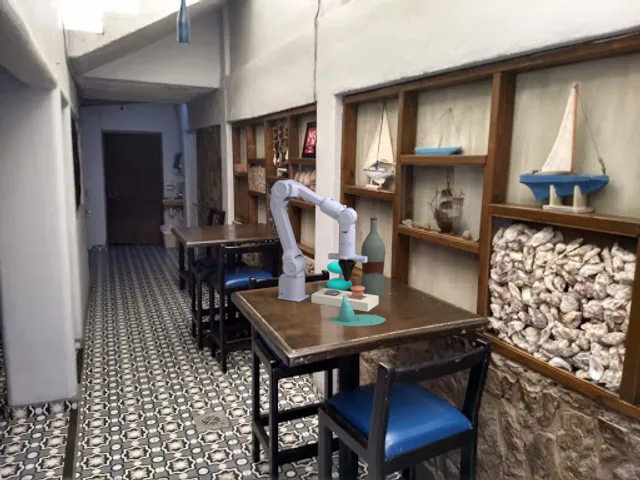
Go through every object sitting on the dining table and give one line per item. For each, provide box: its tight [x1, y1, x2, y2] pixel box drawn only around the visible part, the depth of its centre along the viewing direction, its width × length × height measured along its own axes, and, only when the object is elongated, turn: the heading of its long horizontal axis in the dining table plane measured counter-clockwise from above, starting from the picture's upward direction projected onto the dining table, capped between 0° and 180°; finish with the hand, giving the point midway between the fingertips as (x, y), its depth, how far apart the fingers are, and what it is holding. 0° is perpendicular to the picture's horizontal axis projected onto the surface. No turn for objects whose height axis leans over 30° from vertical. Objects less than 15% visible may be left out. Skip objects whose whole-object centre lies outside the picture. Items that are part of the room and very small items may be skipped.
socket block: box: [310, 287, 380, 313], centre depth 174 cm, size 22×10×3 cm, turn 62°
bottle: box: [360, 216, 386, 299], centre depth 181 cm, size 9×9×30 cm
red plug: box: [349, 285, 365, 298], centre depth 171 cm, size 5×5×3 cm
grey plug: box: [325, 290, 340, 296], centre depth 176 cm, size 5×5×3 cm
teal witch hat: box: [331, 295, 387, 327], centre depth 156 cm, size 12×20×9 cm, turn 94°
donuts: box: [326, 261, 353, 291], centre depth 194 cm, size 10×10×10 cm
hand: (347, 280), depth 172 cm, fingers closed
